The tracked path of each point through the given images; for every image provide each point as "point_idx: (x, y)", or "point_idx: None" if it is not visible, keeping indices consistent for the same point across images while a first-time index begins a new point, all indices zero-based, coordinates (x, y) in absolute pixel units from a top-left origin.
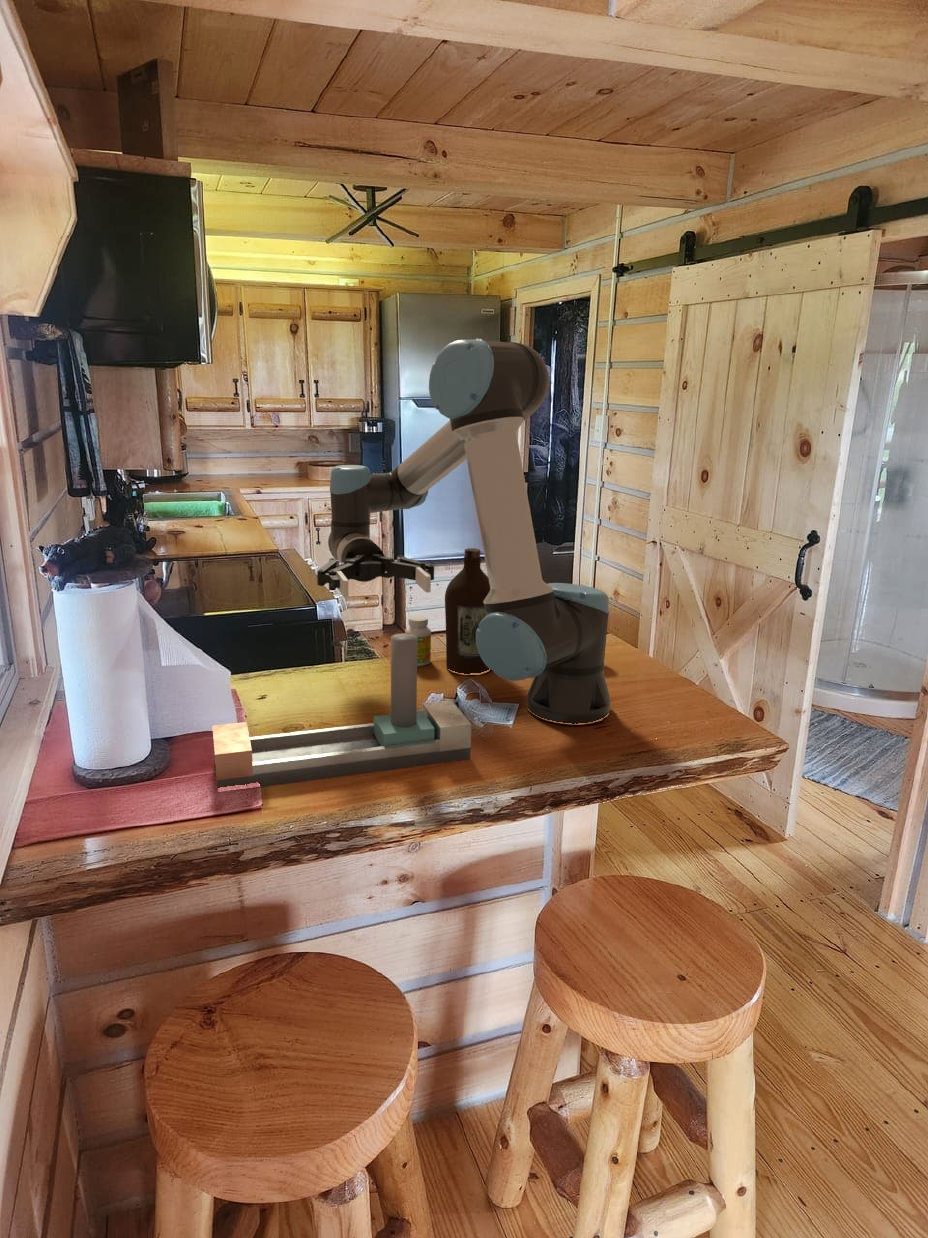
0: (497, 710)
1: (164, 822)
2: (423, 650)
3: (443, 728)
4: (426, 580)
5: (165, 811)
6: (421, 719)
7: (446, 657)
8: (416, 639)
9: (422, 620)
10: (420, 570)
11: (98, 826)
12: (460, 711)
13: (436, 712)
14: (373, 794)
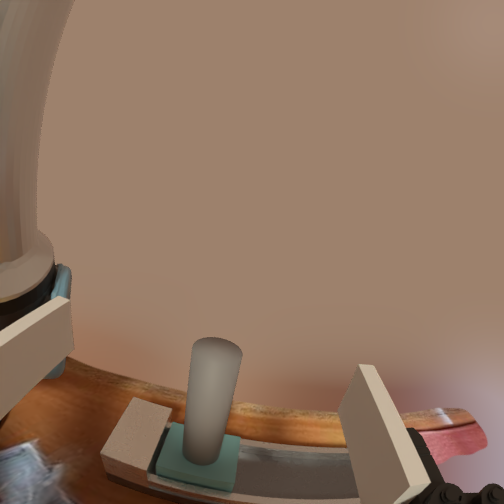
0: (7, 472)
1: (420, 431)
2: None
3: (168, 408)
4: (70, 312)
5: (425, 442)
6: (173, 445)
7: None
8: (200, 339)
9: None
10: (6, 338)
11: (454, 432)
12: (118, 423)
13: (148, 438)
14: (262, 424)
